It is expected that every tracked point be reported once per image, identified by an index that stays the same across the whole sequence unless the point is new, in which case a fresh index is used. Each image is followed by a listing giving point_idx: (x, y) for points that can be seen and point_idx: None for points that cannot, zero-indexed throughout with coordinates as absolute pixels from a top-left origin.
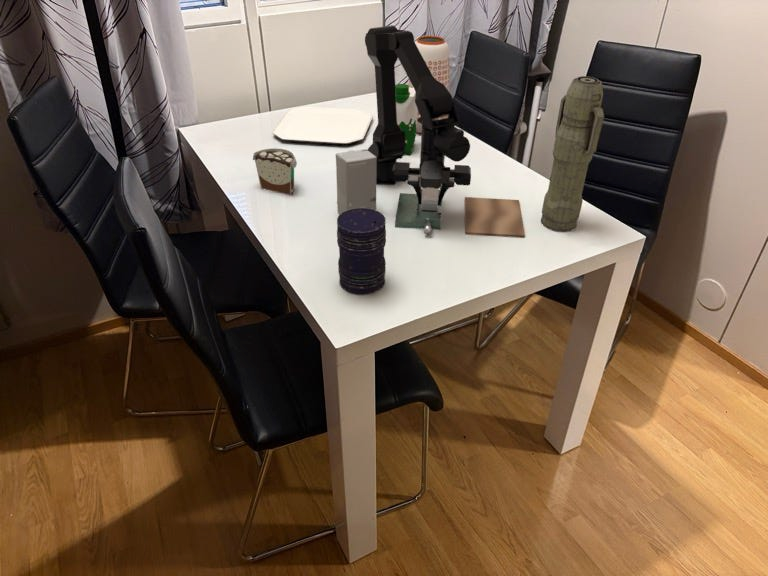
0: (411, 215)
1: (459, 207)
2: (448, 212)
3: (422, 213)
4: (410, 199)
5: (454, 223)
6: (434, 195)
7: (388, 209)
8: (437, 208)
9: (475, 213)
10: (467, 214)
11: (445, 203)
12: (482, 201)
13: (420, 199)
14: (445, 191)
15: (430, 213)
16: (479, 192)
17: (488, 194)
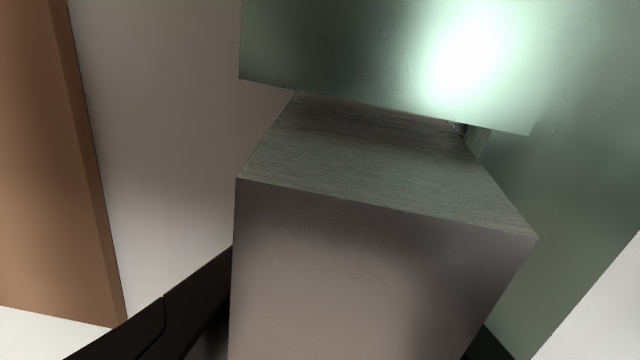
0: (539, 141)
1: (145, 253)
2: (209, 209)
3: (477, 71)
4: None
5: (158, 50)
6: (285, 315)
7: (611, 287)
8: (275, 123)
9: (13, 159)
10: (65, 152)
11: None
12: (15, 282)
13: None
14: (83, 355)
15: (372, 66)
16: (68, 353)
17: (23, 335)
